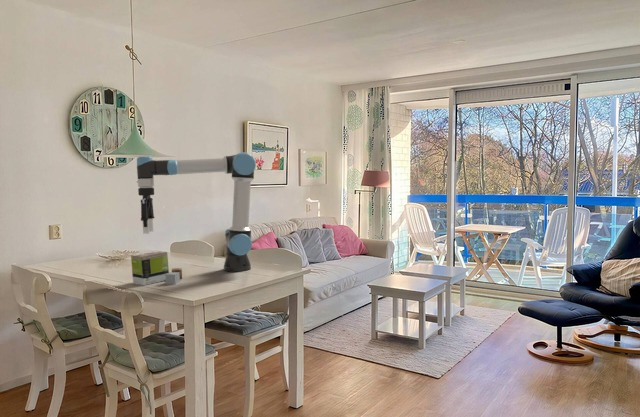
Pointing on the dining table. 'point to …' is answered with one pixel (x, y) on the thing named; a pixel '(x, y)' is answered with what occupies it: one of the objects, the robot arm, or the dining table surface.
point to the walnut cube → (178, 271)
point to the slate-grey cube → (172, 278)
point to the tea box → (149, 267)
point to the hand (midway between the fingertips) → (148, 232)
